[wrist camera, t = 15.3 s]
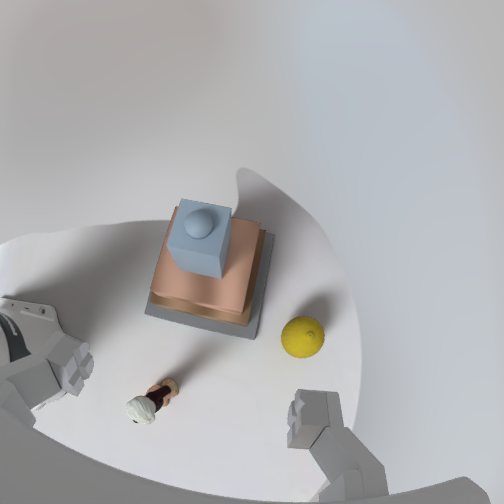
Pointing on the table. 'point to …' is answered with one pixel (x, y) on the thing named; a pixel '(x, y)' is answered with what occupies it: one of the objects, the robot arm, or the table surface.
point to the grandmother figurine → (151, 402)
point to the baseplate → (219, 326)
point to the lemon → (302, 337)
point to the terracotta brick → (213, 279)
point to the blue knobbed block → (200, 238)
